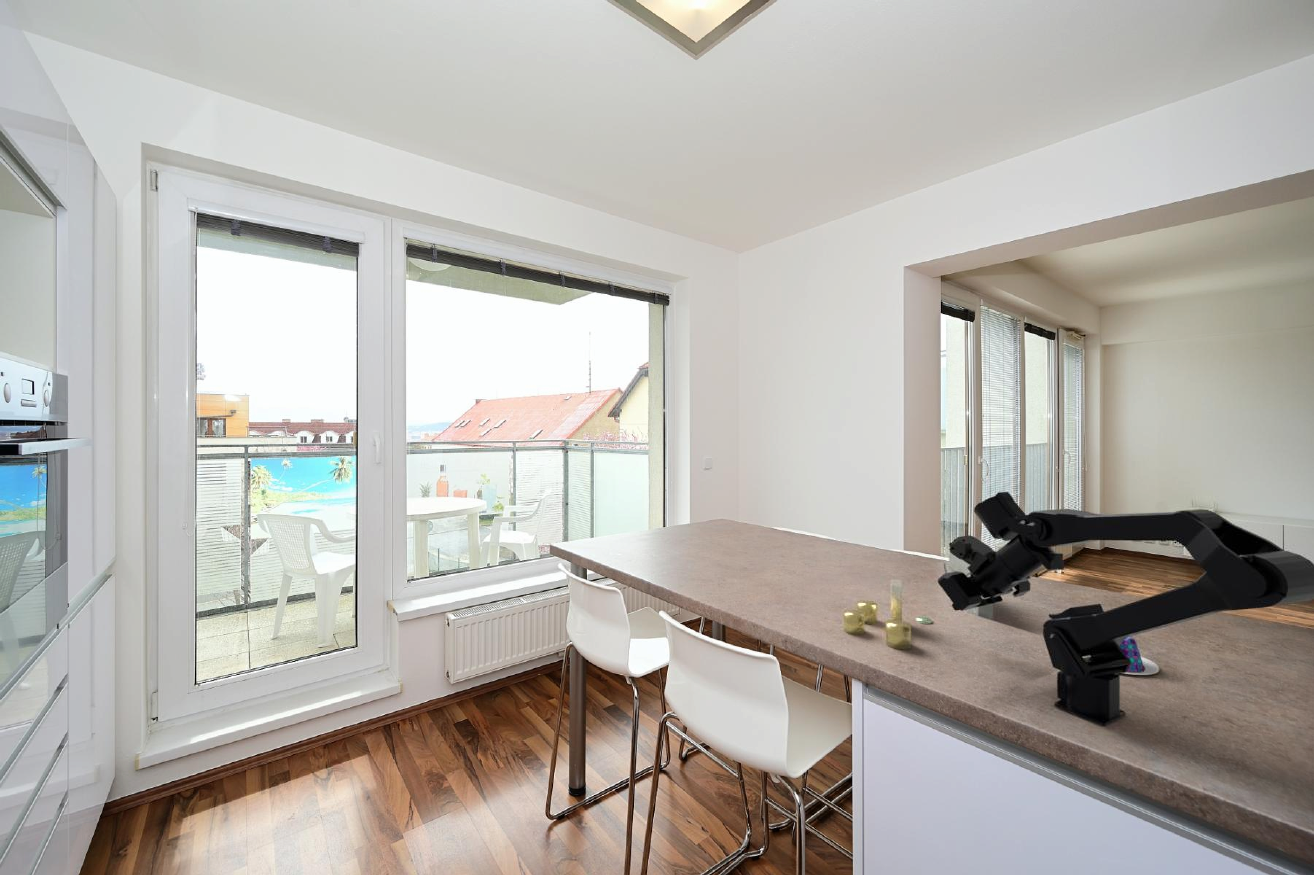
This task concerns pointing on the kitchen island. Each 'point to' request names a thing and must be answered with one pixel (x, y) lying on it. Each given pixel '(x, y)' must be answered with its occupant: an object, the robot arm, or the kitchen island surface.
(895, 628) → the lever
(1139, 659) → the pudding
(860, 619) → the base
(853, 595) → the kitchen island surface
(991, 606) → the geiger counter
